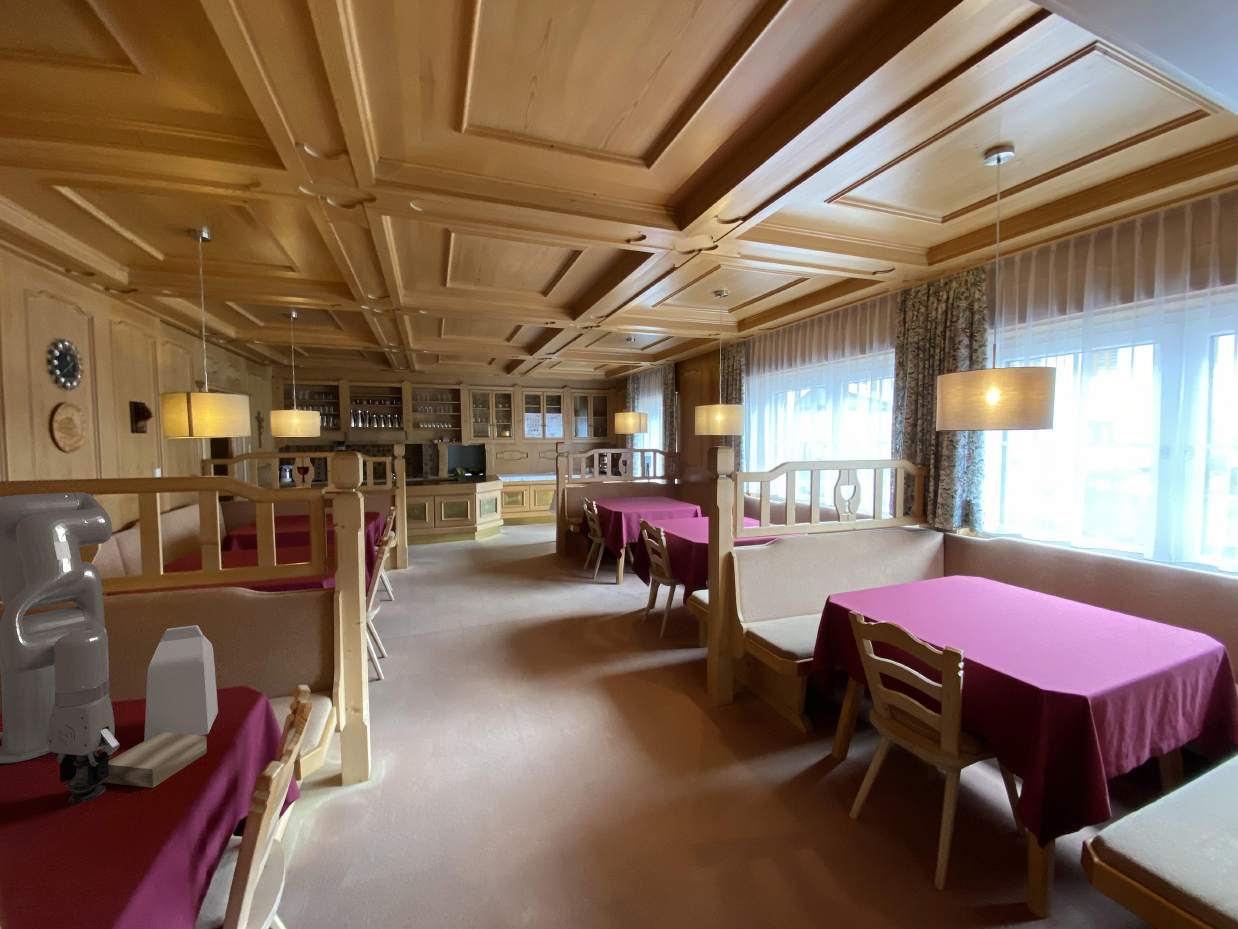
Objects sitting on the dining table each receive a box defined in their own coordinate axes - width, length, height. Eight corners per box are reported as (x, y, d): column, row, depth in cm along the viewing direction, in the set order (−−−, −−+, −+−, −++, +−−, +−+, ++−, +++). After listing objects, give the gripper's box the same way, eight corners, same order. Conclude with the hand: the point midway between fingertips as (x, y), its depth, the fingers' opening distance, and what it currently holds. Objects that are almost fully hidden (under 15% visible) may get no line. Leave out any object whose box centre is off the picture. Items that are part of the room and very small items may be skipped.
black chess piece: (59, 808, 99) (58, 749, 98) (74, 789, 104) (73, 733, 103) (100, 799, 101) (99, 741, 101) (113, 781, 106) (112, 726, 106)
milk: (143, 747, 118) (142, 639, 117) (159, 723, 128) (157, 624, 127) (208, 733, 124) (207, 631, 123) (218, 711, 134) (217, 617, 133)
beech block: (103, 782, 106) (103, 764, 106) (161, 748, 118) (161, 731, 118) (153, 787, 105) (152, 769, 105) (206, 753, 117) (206, 736, 117)
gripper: (22, 699, 99) (25, 788, 99) (98, 706, 96) (100, 796, 97) (68, 681, 106) (70, 764, 107) (139, 687, 104) (141, 772, 105)
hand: (84, 778), depth 102 cm, fingers closed on black chess piece, 5 cm apart
